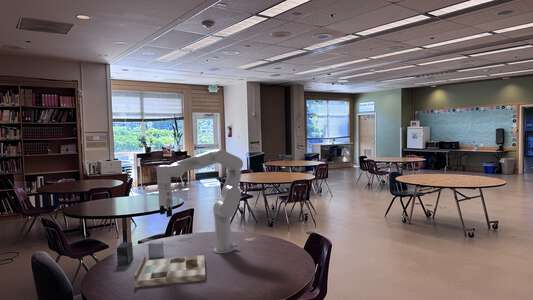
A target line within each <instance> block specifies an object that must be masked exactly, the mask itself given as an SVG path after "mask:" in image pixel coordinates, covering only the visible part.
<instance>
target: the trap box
mask: <svg viewBox="0 0 533 300" xmlns="http://www.w3.org/2000/svg"><path fill="white" fill-rule="evenodd" d="M196 256H197V267H188V268H186V261H185V260H186V257H187V256H183V257H182V256H181V257H169V258H159V259H148V260H146V259H147V258H146V255H143V256H142V258H141V260H140V262H139V265H138V266H137V269H136V271H135V273H134V276H133V277H134V278H133V279H134V288H140V287H141V288H142V287H150V286H160V285H161V286H162V285H172V284H180V283H181V284H182V283H190V282H198V281H206V265H205V263H206V262H205V254H204V255H196Z"/></svg>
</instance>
